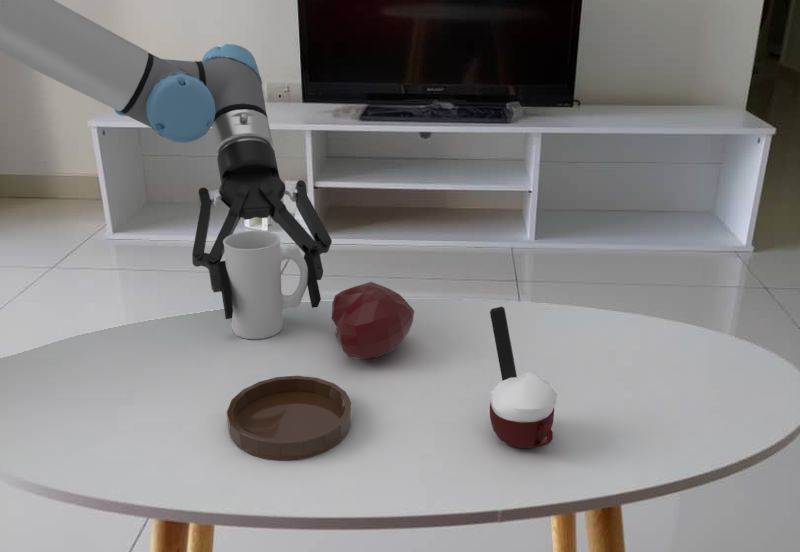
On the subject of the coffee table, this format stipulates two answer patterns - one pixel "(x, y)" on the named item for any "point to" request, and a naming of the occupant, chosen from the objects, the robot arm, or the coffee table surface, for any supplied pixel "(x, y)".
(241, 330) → the mug
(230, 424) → the tray
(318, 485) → the coffee table surface
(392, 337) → the heart
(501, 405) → the cocoa
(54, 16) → the robot arm
